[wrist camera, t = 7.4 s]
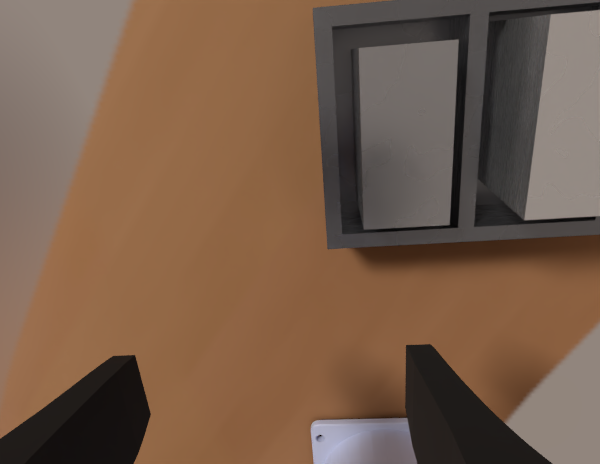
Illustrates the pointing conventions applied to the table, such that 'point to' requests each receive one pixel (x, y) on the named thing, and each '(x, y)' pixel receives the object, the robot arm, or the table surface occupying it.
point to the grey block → (543, 115)
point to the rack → (415, 123)
